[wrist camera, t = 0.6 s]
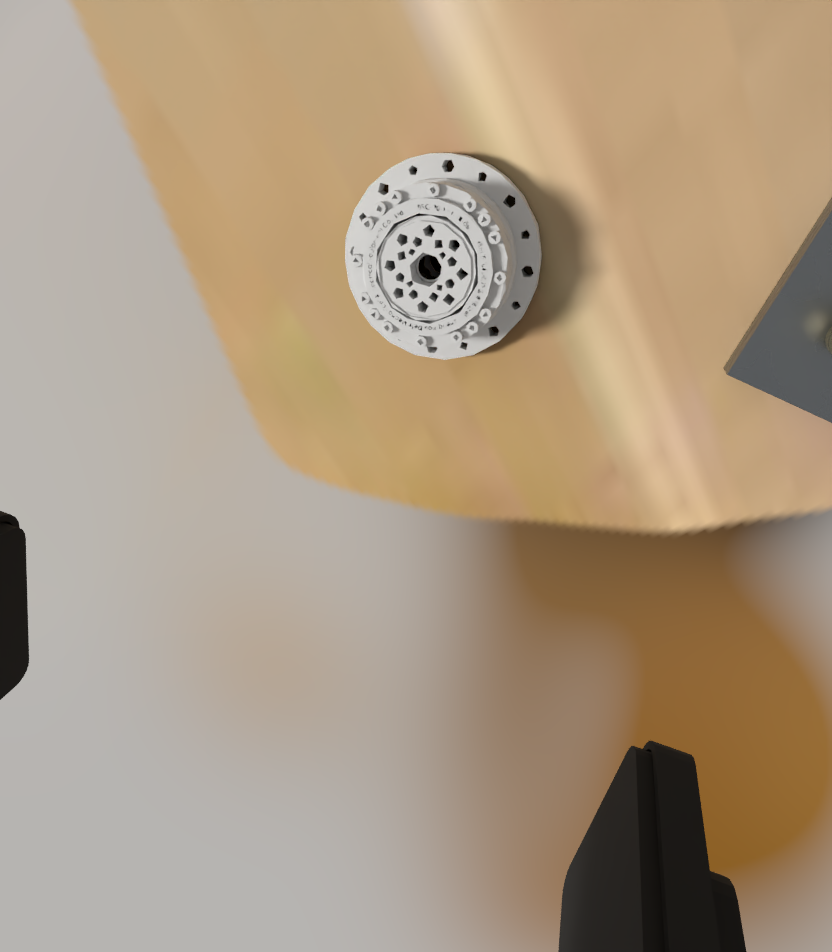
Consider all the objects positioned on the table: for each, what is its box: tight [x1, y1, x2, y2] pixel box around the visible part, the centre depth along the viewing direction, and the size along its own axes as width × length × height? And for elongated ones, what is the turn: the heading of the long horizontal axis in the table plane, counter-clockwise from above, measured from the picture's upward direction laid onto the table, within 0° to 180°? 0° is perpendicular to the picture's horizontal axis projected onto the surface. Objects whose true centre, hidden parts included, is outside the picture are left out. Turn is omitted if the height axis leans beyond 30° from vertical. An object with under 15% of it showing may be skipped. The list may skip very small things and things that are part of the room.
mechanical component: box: [345, 153, 542, 360], centre depth 35 cm, size 10×4×10 cm
